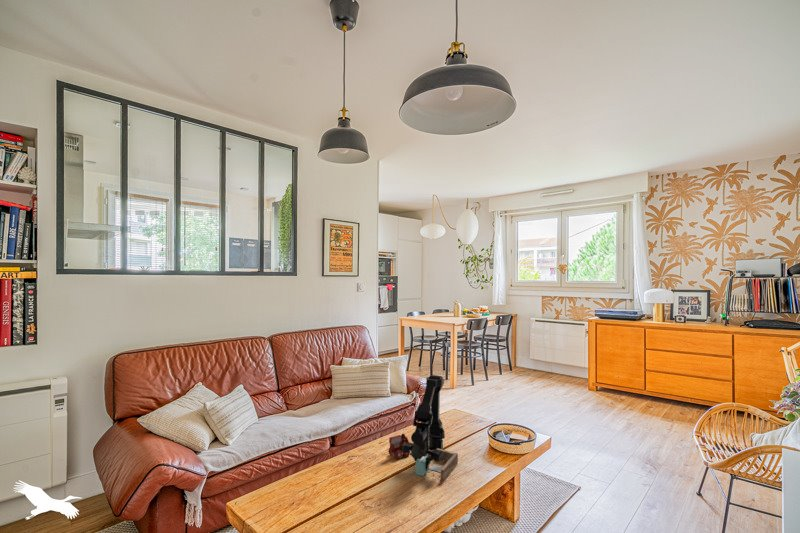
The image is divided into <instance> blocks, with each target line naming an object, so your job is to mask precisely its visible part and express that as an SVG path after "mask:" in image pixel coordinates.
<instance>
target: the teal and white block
mask: <svg viewBox="0 0 800 533" xmlns="http://www.w3.org/2000/svg"><path fill="white" fill-rule="evenodd" d="M426 457H427V455H426V456H425V457H424V456H423V457H422V458H421V459H417V460H416V463H415V466H414V467H415V468H414V469H415V470H414V471H415V472H414V474H415V475H418V476H422V477H424V476H425V475H426V473H427V472H429V469H430V466H429V467H428V470H427V471H426V459H425V458H426Z"/></svg>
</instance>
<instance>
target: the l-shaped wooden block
mask: <svg viewBox="0 0 800 533" xmlns="http://www.w3.org/2000/svg"><path fill="white" fill-rule="evenodd" d="M437 449H438V448H437ZM438 450H442V452H443V457H442V458H441V459H440V460H439V462H444V463H445V464H444V465H443V466H439V465H436V464H432V465H431V466H429V470H430V471H433V472H436V473H439V474H440V481H442V482H445V481H446V479H447V478H448V476H450V474H451V473H452V472H453V471H454V469H455V468H456V466H457V465H458V462H459V454H458V452H455V451H449V450H446V449H443V448H442V449H438ZM429 470H428V471H429Z"/></svg>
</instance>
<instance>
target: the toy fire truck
mask: <svg viewBox="0 0 800 533" xmlns="http://www.w3.org/2000/svg"><path fill="white" fill-rule="evenodd" d="M388 442H389V448H388V450H387V451H388V454H389V455H390V456H394V458H395V460H400V459H401V458H402V456H403V457H405V458H406V456H407V457H409V456H410V453H411V451H410V452H409V453H405V452H403V446H404V445H405V444H407V443H408V442H410V441H409V438H408V436H406V434H405V433H402V434H399V435H395V436H391V437H389V438H388Z"/></svg>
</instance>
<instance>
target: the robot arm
mask: <svg viewBox="0 0 800 533" xmlns="http://www.w3.org/2000/svg"><path fill="white" fill-rule="evenodd" d="M425 381H426V382H425V390H424V393H423V397H422V401H421V403H420V404H419V405H418V406H417V410H416V411H415V413H414V418H413V423H412V427H415V430H414V431H413V433H412V434H411V438H410V439H411V442H410V441H409V442H408V443H407V444H405V445H404V446H403V452H405V453H409V452H410V454H409V456H411V457H412V458H413V460H414V462H415V463H416V460H417V459H421V458H422V457H423V456H424V457H425V456H427V457H426V458H425V459H426V471H427V470H428V467H429V468H430V465H431V462H432V461H435V462H440V459H441V458H442V457H443V452H442V450H443V447H444V440H443V439H446V438H445V436H446V434H445V429H444V427H443V421H442V420H441V419H440V405H441V403H440V395H441V393H440V392H441V390H442V388H443V386H444V384H445V383H444V382H445V378H444V377H443V376H442V375H436V374H435V375H434V374H430V375H429V376H426V380H425ZM437 448H438V449H442V450H438V449H437ZM428 471H429V470H428ZM428 471H427V472H428Z"/></svg>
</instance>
